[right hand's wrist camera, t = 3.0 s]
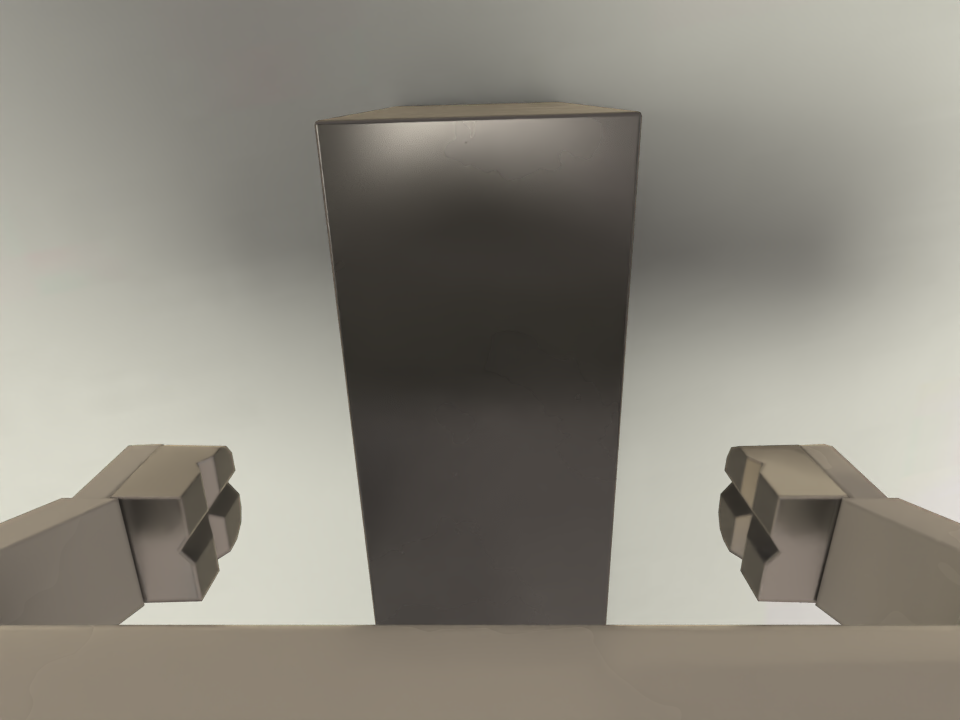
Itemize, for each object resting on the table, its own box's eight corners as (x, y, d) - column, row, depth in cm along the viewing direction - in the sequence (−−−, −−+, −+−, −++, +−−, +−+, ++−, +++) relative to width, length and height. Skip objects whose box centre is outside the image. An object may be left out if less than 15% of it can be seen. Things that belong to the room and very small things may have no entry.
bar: (393, 106, 17) (313, 120, 8) (560, 101, 17) (643, 111, 8) (440, 733, 26) (424, 1026, 18) (546, 730, 26) (578, 1023, 18)
